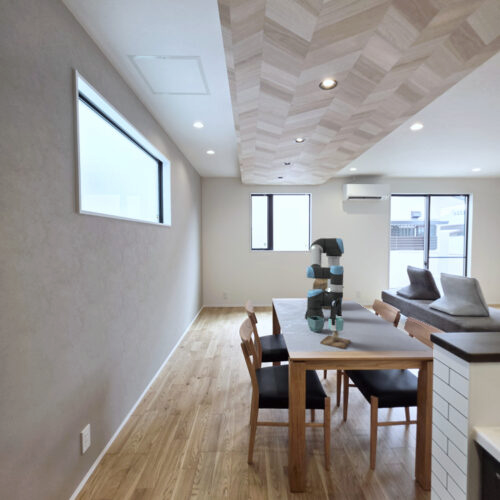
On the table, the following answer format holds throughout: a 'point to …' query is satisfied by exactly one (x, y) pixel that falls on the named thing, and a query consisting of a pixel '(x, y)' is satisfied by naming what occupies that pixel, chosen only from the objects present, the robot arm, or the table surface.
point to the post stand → (335, 341)
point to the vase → (321, 287)
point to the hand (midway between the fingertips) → (335, 328)
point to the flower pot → (316, 323)
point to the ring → (337, 324)
